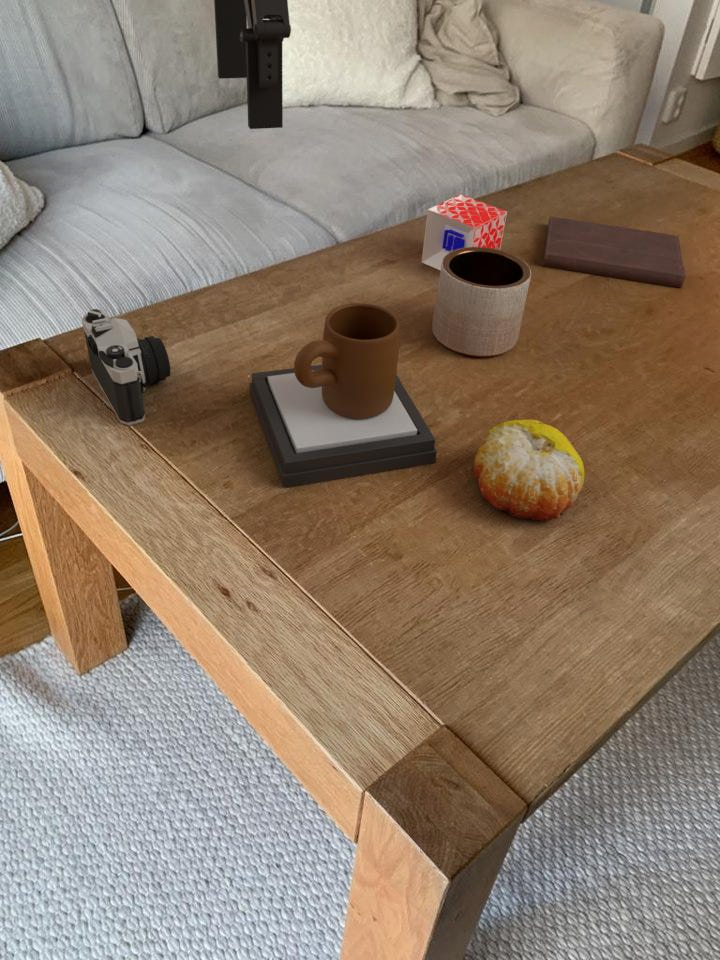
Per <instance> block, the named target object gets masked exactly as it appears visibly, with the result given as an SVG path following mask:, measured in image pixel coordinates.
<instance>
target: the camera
mask: <svg viewBox="0 0 720 960" xmlns="http://www.w3.org/2000/svg"><path fill="white" fill-rule="evenodd" d="M81 322H82V327H83V328H82V329H83V334H84V338H85V343H86V348H87V352H88V353H87V354H88V358H89V363H90V364H89V365H90V369H91V372H92V374H93V376H94V378H95V379H96V381H97V383H98V385H99V387H100V388H101V390H102V392H103V394H104V396H105V398H106V399H107V401H108V403H109V405H110V406H111V408H112V410H113V412H114V413H115V415H116V417H117V419H118V421H119V423H120V424H124V425H126V426H132V425H136V424H140V423H143V422H144V420H145V418H146V411H145V406H144V400H143V393H145V392H146V390H147V387H151V386H152V385H153V384H154V383H161V382H164V381H166V379H167V378H168V377H170V376H171V372H172V371H171V363H170V358H169V355H168V351H167V349H166V346H165V344H164V342H163V340H162V339H161V338H160V337H155V336H153V335H149V336H145V337H144V338H139V337H137V334H136V332H135V330H134V329H133V328H132V326H131V324H130V323H129V321H128V320H127V319H123V318H118V317H114V318H111V319H110V318H109V316H108V315H107V313H104V312H102V310H100V309H98V308H93V309H90V310H88V311H87V313H85V314H84V315H83V316H82V318H81Z"/></svg>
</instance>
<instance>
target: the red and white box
mask: <svg viewBox="0 0 720 960" xmlns="http://www.w3.org/2000/svg"><path fill="white" fill-rule="evenodd" d="M507 214H508V211H507V210H504V209H501V208H499V207H496V206H494V205H491V204H489V203H485V202H483V201H480V200H478V199H474V198H472V197H469V196H467V195H465V194H462V193H460V194H458V195H456V196H454V197H452V198H450V199H447V200H445V201H443V202H441V203H438V204H436V205H434V206H432V207H430V208H428V209H427V213H426V221H425V231H424V236H423V237H424V238H423V247H422V253H421V254H422V255H421V263H422V264H424V265H426V266H429V267H431V268H434V269H436V270H438V271H440V270H441V263H442V259H443V258H444V256H445V255H447V254H448V253H450V252H451V251H454V250H457V249H461V248H466V247H487V248H494V249H498V250H501V247H502V241H503V235H504V230H505V225H506V220H507Z"/></svg>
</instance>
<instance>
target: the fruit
mask: <svg viewBox="0 0 720 960" xmlns="http://www.w3.org/2000/svg"><path fill="white" fill-rule="evenodd" d="M473 467H474V473H475V474H474V475H473V476H474V477H475V478H477V481H478V486H479V491H480V493H481V497H483V498H485V499H484V501H486V502H488V503H489V504H490V505H491V506H492V507H494V509H495V510H498V511H505V512H508V514H509V516H511V517H514V518H517V519H524V520H526V519H532V521H535V522H536V521H539V522H540V521H543V522H545V521H551V520H553V519H558V518H561V517H560V516H564V514H565V513H566V512H567V510H568V509H570V507H572V506H574V505H575V502H576V500H577V499H578V498H579V496H580V495H581V493H582V491H583V488H584V483H585V467H584V462H583V460H582V458H581V456H580V455H579V453H578V452H577V451H576V449H575V447H574V446H573V445H572V443H571V442H570V441H569V439H568V438H567V437H566V435H565V434H564V433H563V432H561V431H560V430H559V429H557V428H556V427H554V426H552V425H549V424H546V423H543V422H542V421H540V420H537V419H513V420H508V421H504V422H502V423H500V424H498V425H496V426H494V427H491V429H489V430H488V432H487V433H486V435H485V438H484V440H483V441H482V444H481V445H480V447H479V449H478V451H477V453H476V454H475V455H474V462H473Z"/></svg>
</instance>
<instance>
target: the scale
mask: <svg viewBox="0 0 720 960" xmlns="http://www.w3.org/2000/svg"><path fill="white" fill-rule="evenodd" d="M317 369H322V364H316V365H311V371H314V370H317ZM291 373H295V371H294V367H292V368H291V367H290V368H285V369H276V370H269V371H260V372H253V373H251V382H249V383H248V389H249V397H250V399H251V403H252V406H253V408H254V411H255V413H256V416H257V419H258V423H259V424H260V427H261V430H262V433H263V435H264V438H265V441H266V443H267V446H268V448H269V449H268V450H269V452H270V455H271V457H272V458H271V459H272V461H273V463H274V465H275V466H274V467H275V468H276V471H277V474H278V476H279V477H278V478H279V479H280V482H281V485H282V488H283V489H286V488H293V487H299V486H305V485H312V484H316V483H325V482H330V481H336V480H342V479H347V478H354V477H360V476H366V475H371V474H378V473H383V472H389V471H396V470H402V469H408V468H413V467H414V468H415V467H419V466H427V465H432V464H436V461H437V455H438V451H437V449H436V446H435V445H436V438H435V436H434V435H433V432H432V431H431V429H430V427H429V426H428V424H427V423H426V421H425V420H424V418H423V416H422V415H421V413H420V411H419V409H418V408H417V406H416V405H415V403H414V402H413V400H412V398H411V396H410V395H409V393H408V392H407V390H406V387H405V386H404V384H403V382H401V380H400V378H399V377H398V375H397V374H396V379H395V389H394V391H395V393H396V394H397V396H398V398H399V400H400V401H401V403H402V405H403V406H404V408H405V410H406V412H407V413H408V415H409V417H410V418H411V420H412V422H413V424H414V425H415V427H416V429H417V435H412V436H406V437H399V438H393V439H386V440H380V441H373V442H367V443H360V444H354V445H347V446H341V447H334V448H328V449H321V450H315V451H308V452H302V453H295V454H294V451H293V449H292V446H291V444H290V441H289V439H288V436H287V434H286V431H285V429H284V426H283V424H282V421H281V419H280V416H279V413H278V411H277V408H276V406H275V403H274V401H273V398H272V396H271V393H270V391H269V388H268V376H275V375H283V374H291Z"/></svg>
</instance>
